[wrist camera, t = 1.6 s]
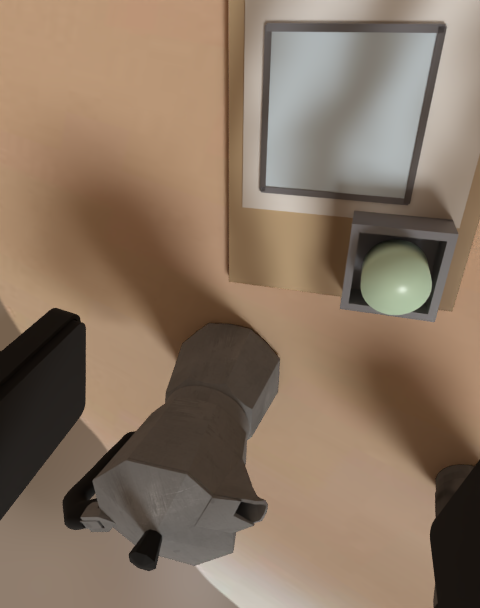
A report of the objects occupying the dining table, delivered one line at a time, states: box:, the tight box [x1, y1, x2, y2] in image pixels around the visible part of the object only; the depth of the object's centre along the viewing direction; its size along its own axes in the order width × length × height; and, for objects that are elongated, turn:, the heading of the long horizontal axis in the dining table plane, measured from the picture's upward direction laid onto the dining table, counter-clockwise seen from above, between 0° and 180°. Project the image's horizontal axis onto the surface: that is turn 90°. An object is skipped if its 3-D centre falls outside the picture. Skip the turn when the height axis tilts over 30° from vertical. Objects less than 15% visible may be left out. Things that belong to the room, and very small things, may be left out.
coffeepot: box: [63, 323, 280, 571], centre depth 32 cm, size 15×9×18 cm, turn 112°
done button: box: [361, 240, 432, 315], centre depth 28 cm, size 4×4×2 cm
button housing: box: [340, 211, 459, 322], centre depth 29 cm, size 6×6×3 cm
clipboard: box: [228, 0, 480, 312], centre depth 26 cm, size 16×26×1 cm, turn 179°
